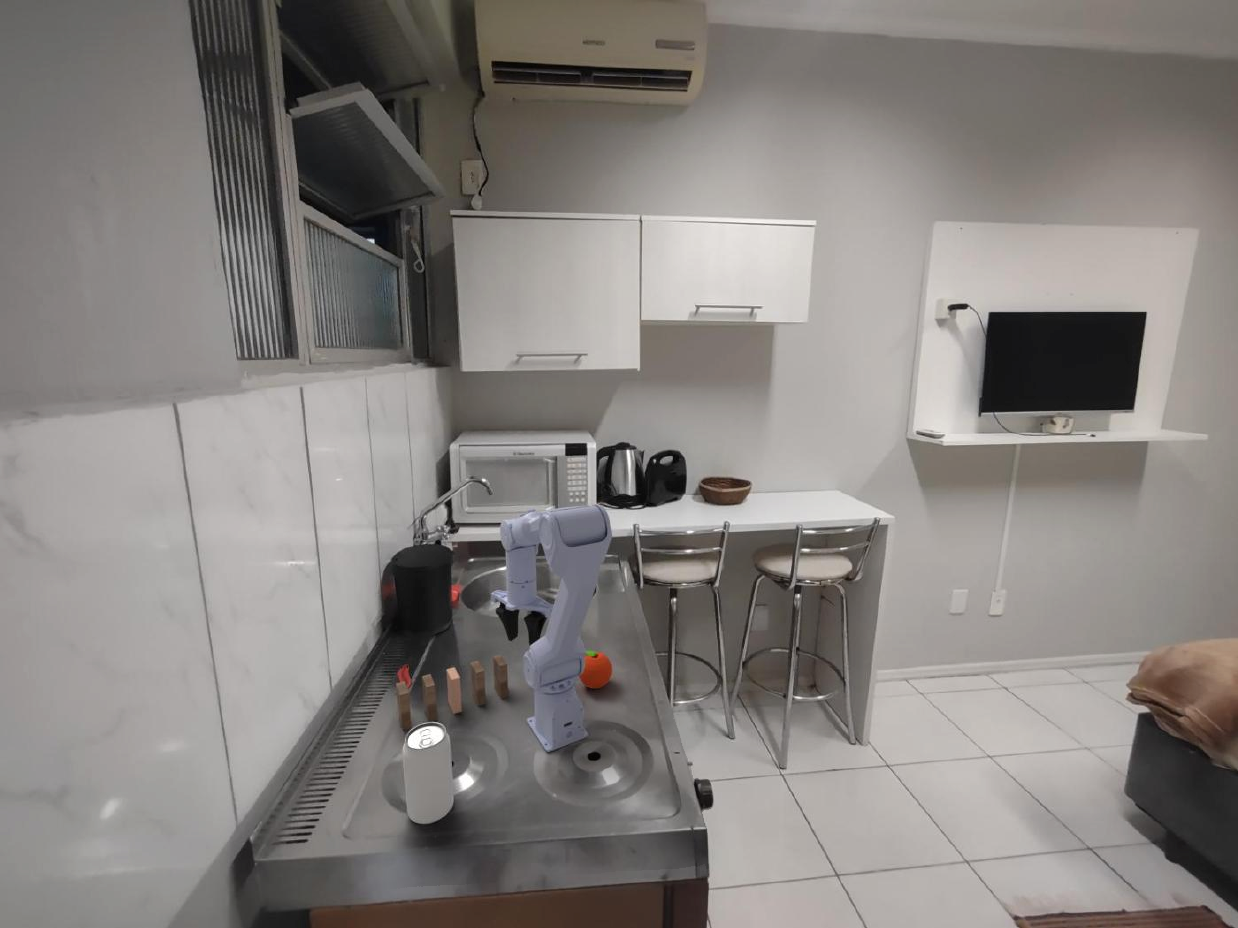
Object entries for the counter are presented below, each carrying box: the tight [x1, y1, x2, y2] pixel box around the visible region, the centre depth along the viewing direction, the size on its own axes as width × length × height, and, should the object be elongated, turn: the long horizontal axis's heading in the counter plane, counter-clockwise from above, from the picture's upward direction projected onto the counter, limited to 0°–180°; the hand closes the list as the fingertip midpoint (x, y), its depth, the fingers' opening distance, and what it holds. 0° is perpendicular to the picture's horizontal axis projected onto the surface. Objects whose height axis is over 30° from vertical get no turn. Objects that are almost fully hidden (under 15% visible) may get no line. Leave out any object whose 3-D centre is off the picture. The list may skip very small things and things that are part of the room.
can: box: [402, 721, 455, 825], centre depth 77 cm, size 6×6×12 cm
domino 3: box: [446, 667, 463, 715], centre depth 101 cm, size 4×2×7 cm, turn 31°
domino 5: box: [492, 654, 509, 700], centre depth 105 cm, size 4×2×7 cm, turn 31°
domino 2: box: [421, 673, 438, 722], centre depth 98 cm, size 4×2×7 cm, turn 31°
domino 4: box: [470, 660, 487, 707], centre depth 103 cm, size 4×2×7 cm, turn 31°
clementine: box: [578, 650, 613, 689], centre depth 108 cm, size 8×7×7 cm
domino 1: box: [395, 681, 412, 731], centre depth 96 cm, size 4×2×7 cm, turn 31°
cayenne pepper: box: [395, 663, 413, 694], centre depth 110 cm, size 12×5×2 cm, turn 0°
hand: (523, 641), depth 107 cm, fingers open, 5 cm apart
